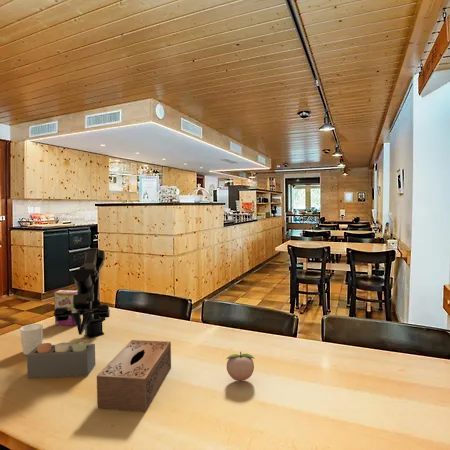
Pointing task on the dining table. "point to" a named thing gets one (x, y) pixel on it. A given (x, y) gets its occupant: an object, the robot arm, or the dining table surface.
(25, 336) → the white cup
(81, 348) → the sage button
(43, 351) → the terracotta button
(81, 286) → the robot arm
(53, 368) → the tray
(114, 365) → the tissue box cover
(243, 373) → the decorative fruit
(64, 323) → the candy bar box
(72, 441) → the dining table surface
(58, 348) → the cream rounded egg shape
